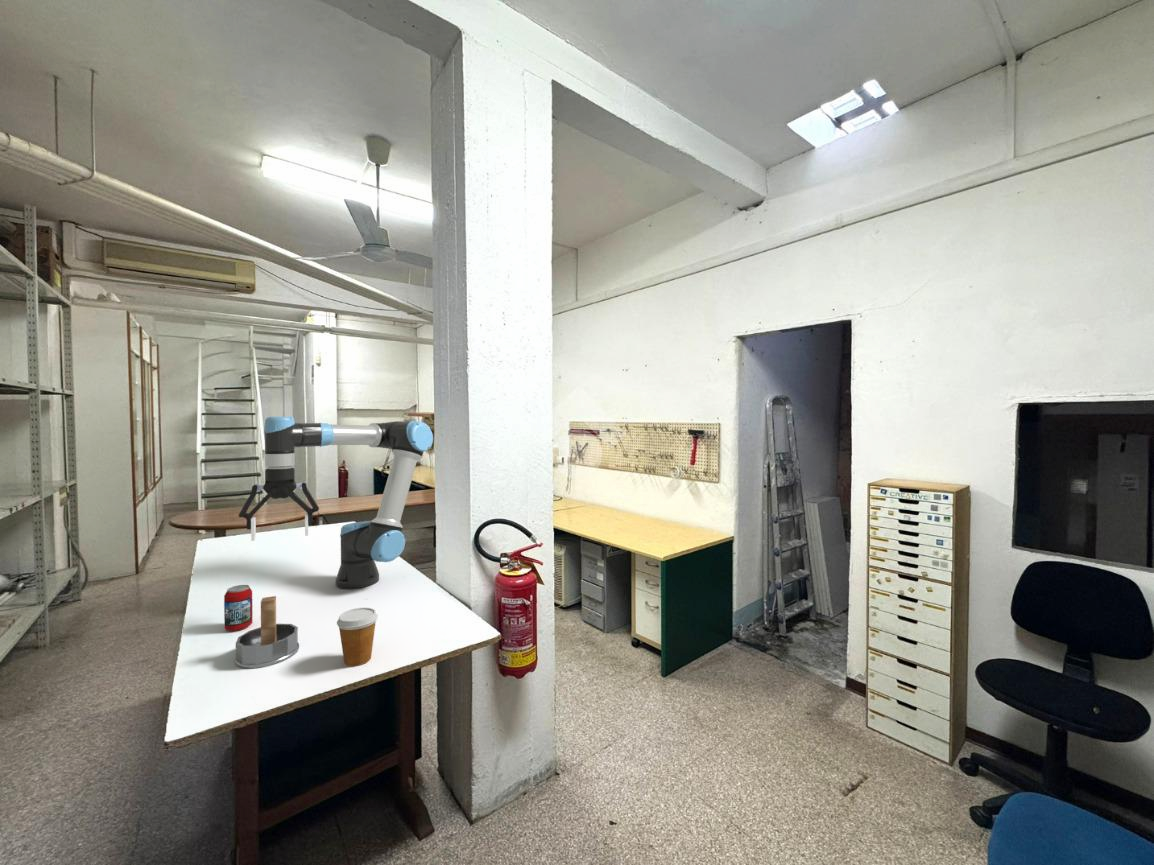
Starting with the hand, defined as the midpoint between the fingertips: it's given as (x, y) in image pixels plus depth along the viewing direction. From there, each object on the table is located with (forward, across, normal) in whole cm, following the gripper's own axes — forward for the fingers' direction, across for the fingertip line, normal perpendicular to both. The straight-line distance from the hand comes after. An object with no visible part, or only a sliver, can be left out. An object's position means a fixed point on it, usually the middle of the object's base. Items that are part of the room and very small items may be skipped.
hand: (280, 537), depth 138 cm
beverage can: (+27, +11, -3) cm, 29 cm away
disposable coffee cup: (+27, -20, +34) cm, 48 cm away
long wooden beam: (+26, +1, +20) cm, 33 cm away
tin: (+27, +1, +20) cm, 33 cm away
